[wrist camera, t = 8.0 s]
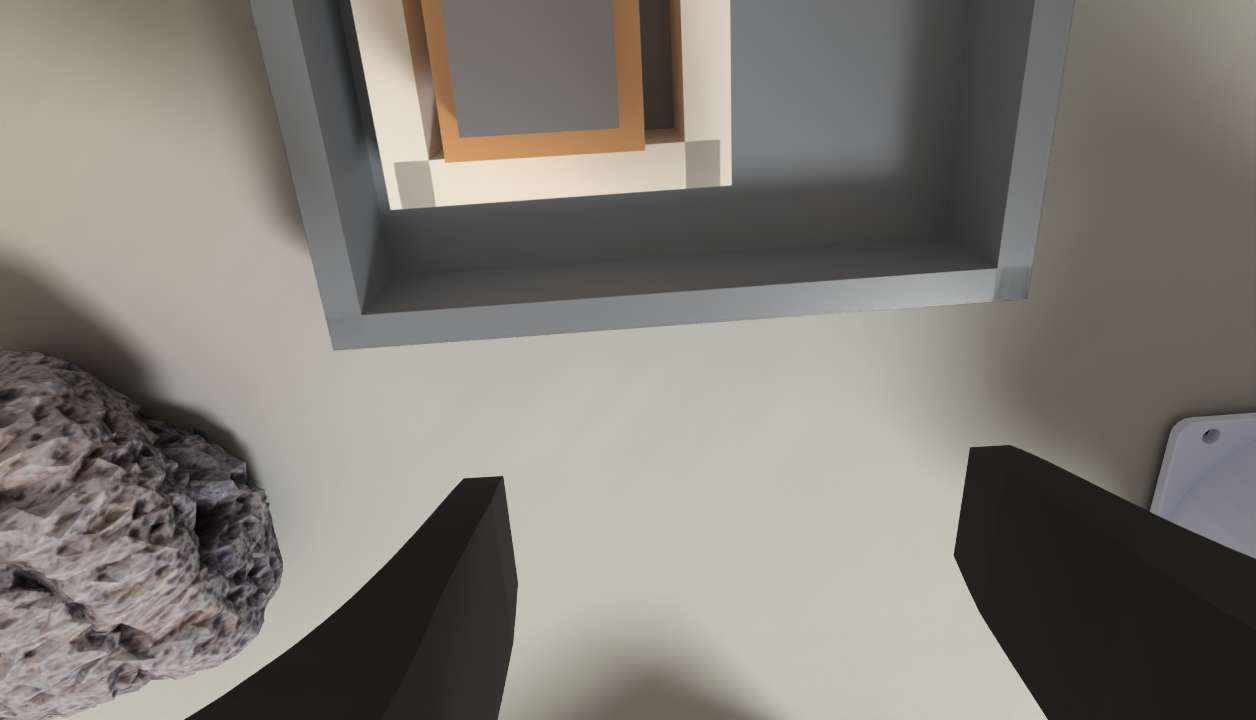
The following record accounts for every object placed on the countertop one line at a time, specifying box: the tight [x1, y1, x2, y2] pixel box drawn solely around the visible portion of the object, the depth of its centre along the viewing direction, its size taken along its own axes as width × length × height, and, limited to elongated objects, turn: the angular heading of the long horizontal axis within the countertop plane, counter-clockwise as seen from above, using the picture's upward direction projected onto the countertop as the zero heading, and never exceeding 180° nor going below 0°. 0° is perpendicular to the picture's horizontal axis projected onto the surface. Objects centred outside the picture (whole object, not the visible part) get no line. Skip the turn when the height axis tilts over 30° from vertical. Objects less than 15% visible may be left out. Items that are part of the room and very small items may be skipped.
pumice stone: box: [0, 350, 283, 720], centre depth 20 cm, size 10×8×10 cm
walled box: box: [249, 0, 1075, 350], centre depth 16 cm, size 16×13×4 cm
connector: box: [421, 0, 645, 163], centre depth 15 cm, size 4×4×6 cm
